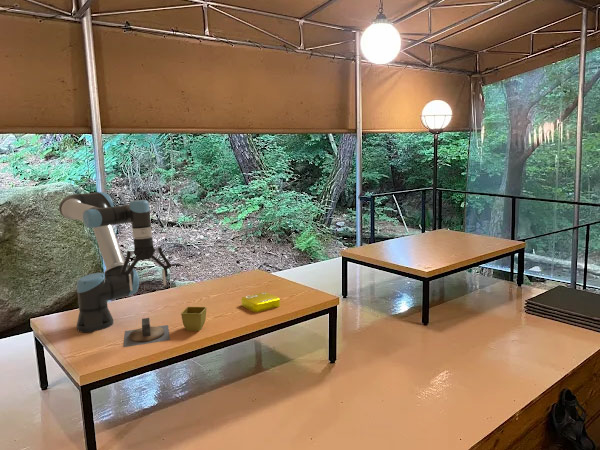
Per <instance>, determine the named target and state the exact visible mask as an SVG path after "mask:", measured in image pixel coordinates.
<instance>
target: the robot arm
mask: <svg viewBox="0 0 600 450" xmlns="http://www.w3.org/2000/svg"><path fill="white" fill-rule="evenodd" d="M149 204H150V203H149V201H148V200H147V199H139V200H131V201H130V202H129V204H123V205H117V206H114V200H112V197H111V195H109V194H108V192H104V191H100V192H99V191H95V192H88V193H74V194H73V193H72V194H70V195H67V196H65V197H64V198H62V200H61V201H60V203H59V205H58V210H59V213H60V215H61V217H64V218H65V219H67V220H71V221H72V220H76V221H77V220H78V221H81V222H83V223H84V225H85V226H86V228H89V229H91V228H92V229H93V232H94V236H95V239H96V241H97V242H96V243H97V245H98V248H99V251H100V254H101V257H102V260H103V262H104V265H105V270H104V273H103V272H95V273H90V274H85V275H84V276H82V277H80V278H79V279H78V280H77V281H76V293H77V299H78V300H77V301H78V310H79V314H78V317H77V321H76V329H77V331H78V330H79V331H78V332H80V331H82V332H81V333H94V332H96V331H101V330H104V329H107V328H110V327H111V326H113V324H114V318H113V316H112V314H111V311H110V310H109V306H108V301H113V300H117V299H121V298H124V297H129V296H132V295H135V294H136V293H137V292H138V290H139V287H140V277H139V274H138V271H137V270H136V269H134V268H135V266H136V265H137V263H138V262H139V261H145V260H147V261H149V260H150V259H152V260H153V261H155V262H156V263H157V264H158V265H159V266H160V267H162V269H161V275H162V282H163V286H167V279H166V278H168V276H169V273H168V272H169V271H168V269H170V268H171V267H172V264H171V263H170V262H169V260H168V259H167V256H165V254H164V253H163V249H162V247H161V246H158V247H154V242H153V231H152V222H151V211H150V210H151V209H150V205H149ZM127 223H129V224H131V229H132V230H131V231H132V237H133V238H134V239H133V247H134V249H133V250H127V251H126V257H125V258H124V256H123V254H122V253H123V252H122V250H121V248H120V245H119V241H118V239H117V236H116V233H115V229H114V227H113V226H114V225H115V226H116V225H121V224H127ZM155 252H156V253H159V255H160V256H161V258H162V260H163V261H164V263H165V264H166V265H165V264H164V263H163V262H162V261H160V259H158V258H157V257H156V256H155V255H154V254H155ZM133 255H134V256H135V258H134V259H133V261H132V262H131V263H130V264H129V262H130V260H131V257H132V256H133Z"/></svg>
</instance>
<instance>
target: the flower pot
mask: <svg viewBox="0 0 600 450" xmlns="http://www.w3.org/2000/svg"><path fill="white" fill-rule="evenodd" d="M207 308H208V307H207V306H186V307H185V308H184V309H183V311H182V312H181V313H180V316H181V319H182V321H181V322H182V325H183V327H184V328H185V330H186V331H187V332H199V331H201V330H202V328H203V327H204V325H205V322H206V318H207Z"/></svg>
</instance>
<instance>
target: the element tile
mask: <svg viewBox="0 0 600 450" xmlns="http://www.w3.org/2000/svg"><path fill="white" fill-rule="evenodd" d="M240 300H241V307H243V308H245V309H247V310H249V311H251V312H253V313H260V312H264V311H269V310H271V309H275V308H279V307H281V299H280V297H278V296H276V295H274V294H271V293H269V292H266V291H263V292H259V293H255V294H250V295H246V296H242V297H241V298H240Z"/></svg>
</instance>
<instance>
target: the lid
mask: <svg viewBox="0 0 600 450" xmlns="http://www.w3.org/2000/svg"><path fill="white" fill-rule="evenodd" d="M150 321H151V320H150V317H145V318H144V317H143V318H141V327H139V328H137V330H136V329H133V330H134V331H132V332H131V333H130V334H129V339H130V340H131V341H134V342H148V341H153V340H156V339H158V338H160V337H162V336H163V335H164V329H163V328H161V327H157V326H151V322H150Z"/></svg>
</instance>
